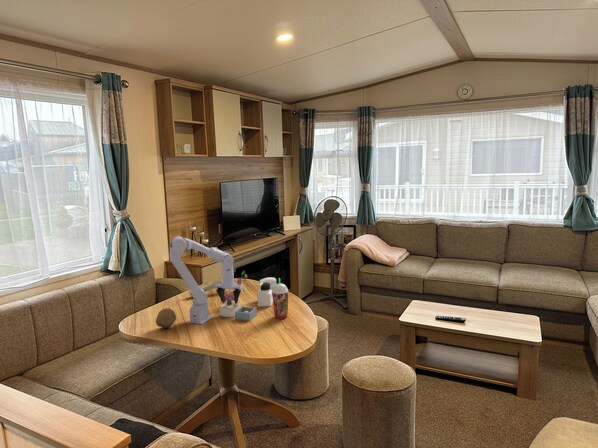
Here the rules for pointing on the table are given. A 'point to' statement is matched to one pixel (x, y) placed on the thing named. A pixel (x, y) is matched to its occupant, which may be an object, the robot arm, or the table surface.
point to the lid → (229, 304)
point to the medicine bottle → (264, 295)
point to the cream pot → (229, 312)
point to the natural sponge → (165, 318)
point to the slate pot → (243, 315)
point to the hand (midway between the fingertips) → (229, 302)
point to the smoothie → (280, 300)
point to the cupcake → (229, 296)
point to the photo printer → (269, 280)
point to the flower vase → (218, 281)
